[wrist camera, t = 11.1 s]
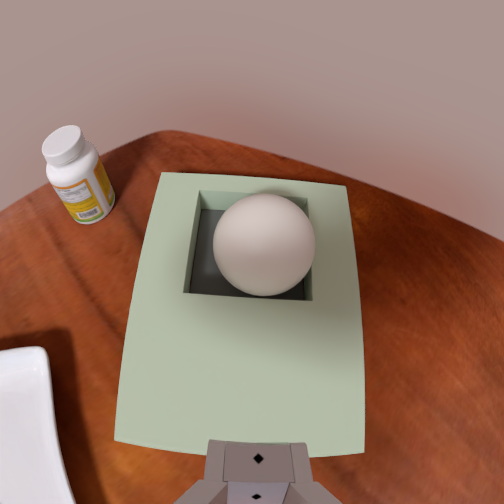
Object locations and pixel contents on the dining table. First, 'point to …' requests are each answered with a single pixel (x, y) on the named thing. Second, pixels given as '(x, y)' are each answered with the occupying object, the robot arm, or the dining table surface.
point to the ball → (264, 244)
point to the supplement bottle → (78, 175)
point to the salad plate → (29, 431)
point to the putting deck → (242, 331)
